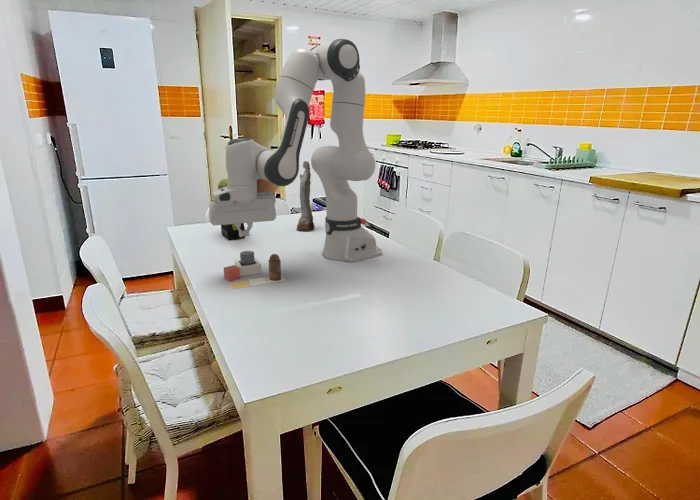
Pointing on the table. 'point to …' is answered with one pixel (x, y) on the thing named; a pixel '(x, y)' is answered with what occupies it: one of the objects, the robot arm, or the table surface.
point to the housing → (249, 268)
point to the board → (253, 282)
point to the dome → (247, 258)
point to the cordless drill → (230, 229)
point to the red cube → (231, 273)
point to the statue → (305, 201)
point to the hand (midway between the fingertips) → (244, 236)
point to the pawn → (274, 267)
